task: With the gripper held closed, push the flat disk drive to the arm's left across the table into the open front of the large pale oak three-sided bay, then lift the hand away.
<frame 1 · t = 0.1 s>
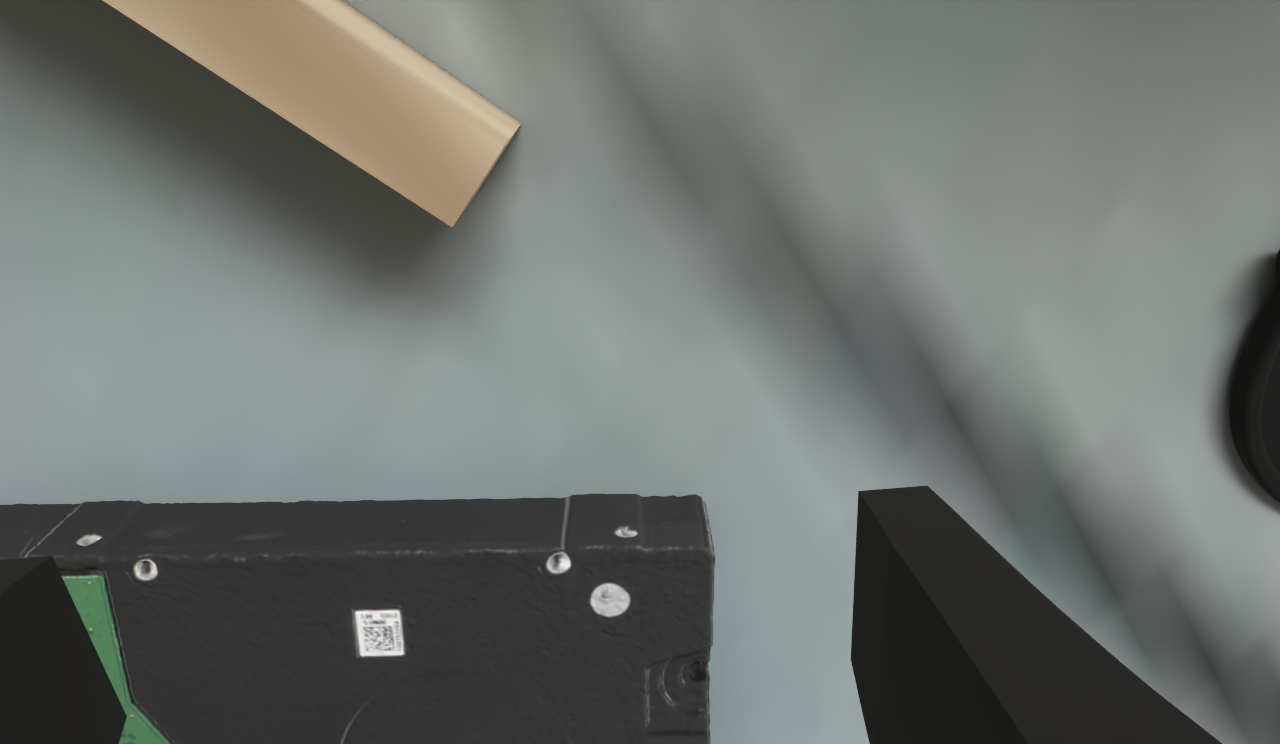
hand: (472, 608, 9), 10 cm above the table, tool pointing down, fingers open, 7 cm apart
disk drive: (377, 683, 23), on the table
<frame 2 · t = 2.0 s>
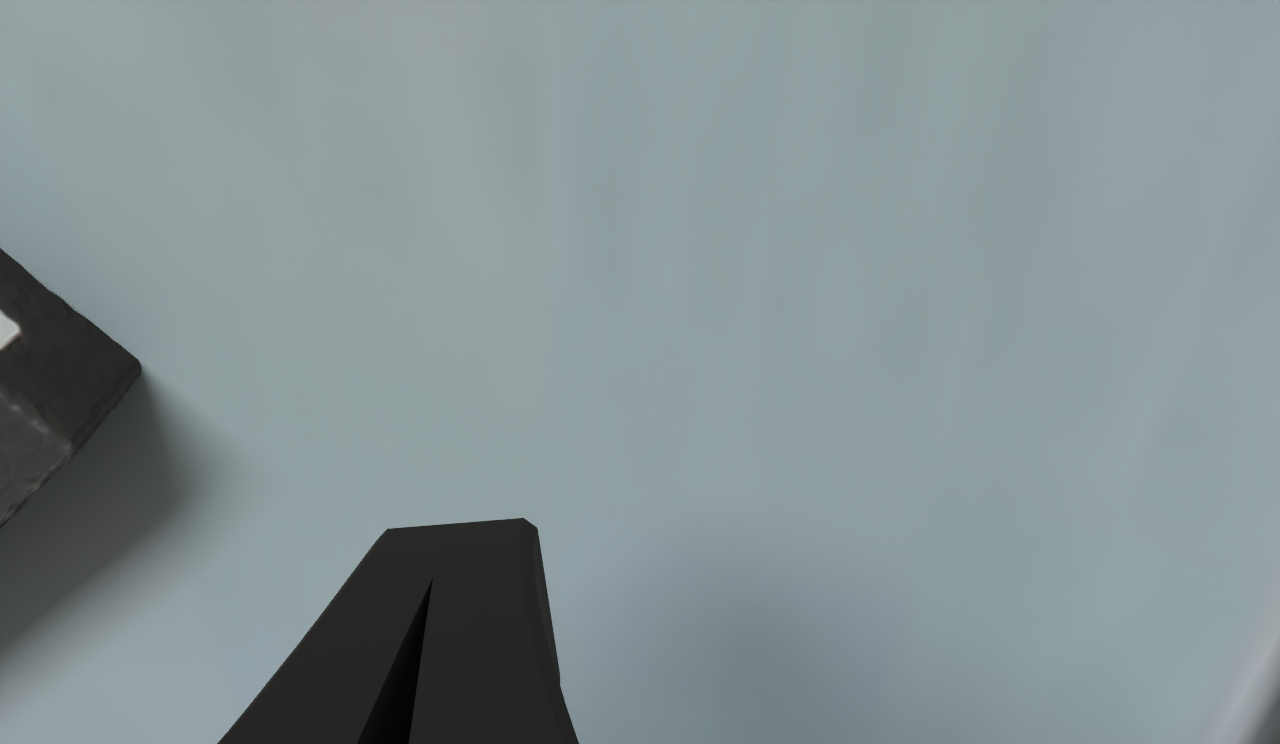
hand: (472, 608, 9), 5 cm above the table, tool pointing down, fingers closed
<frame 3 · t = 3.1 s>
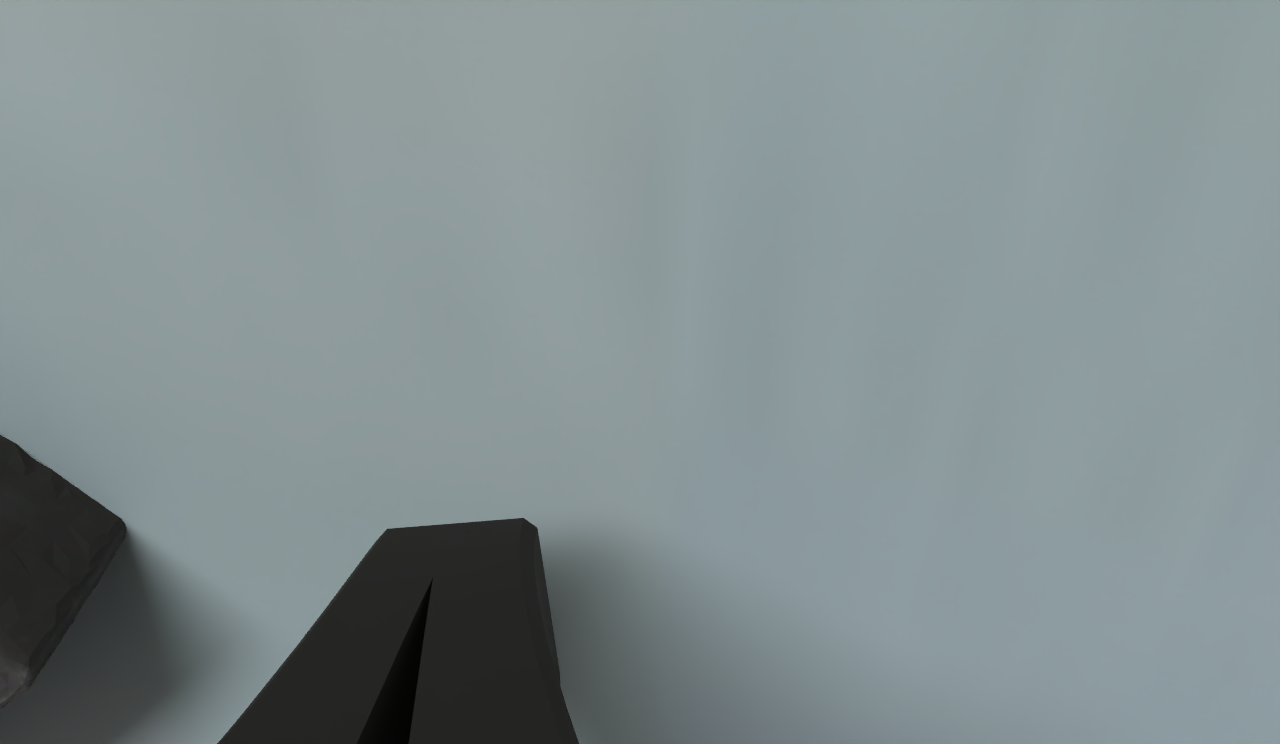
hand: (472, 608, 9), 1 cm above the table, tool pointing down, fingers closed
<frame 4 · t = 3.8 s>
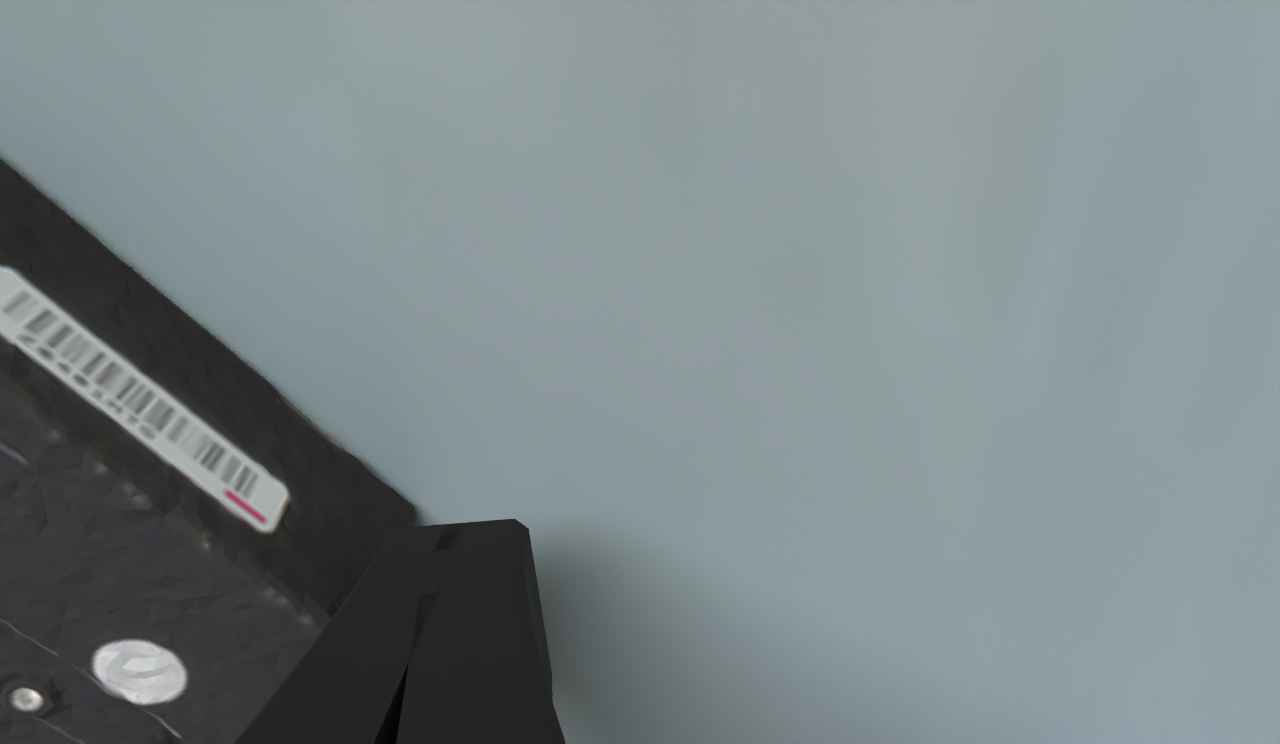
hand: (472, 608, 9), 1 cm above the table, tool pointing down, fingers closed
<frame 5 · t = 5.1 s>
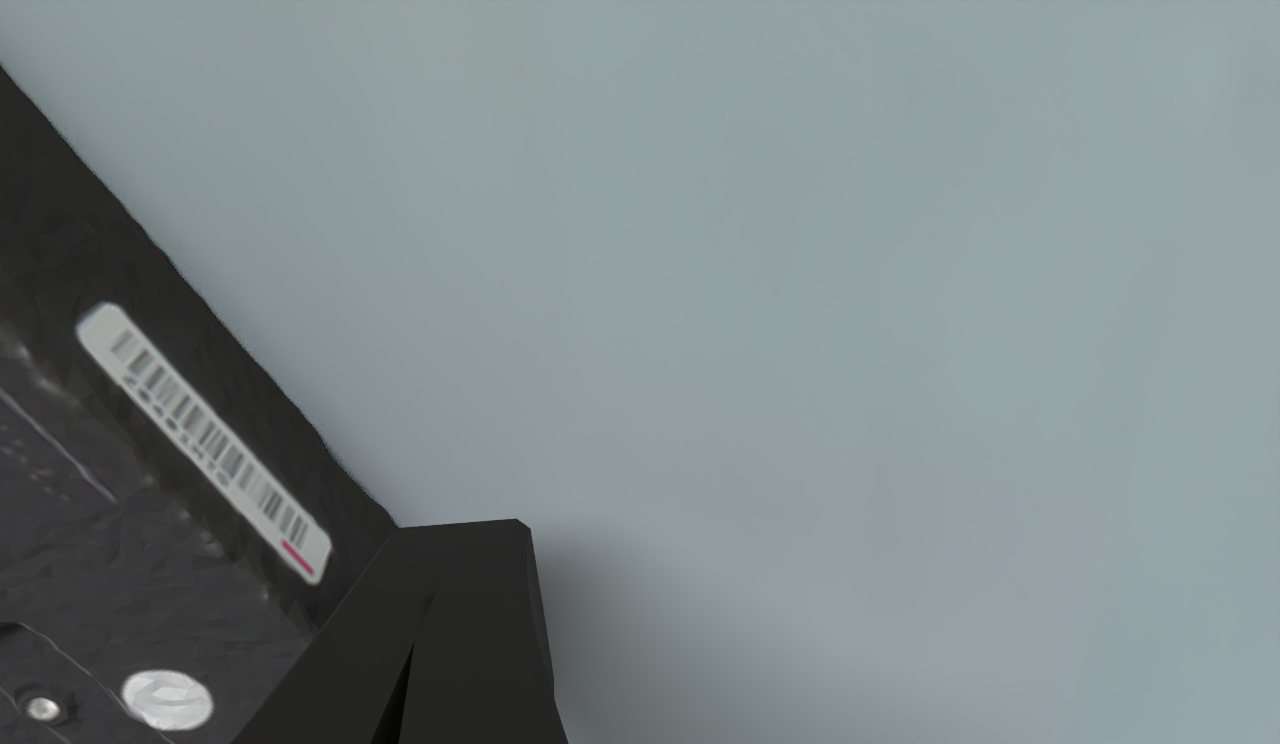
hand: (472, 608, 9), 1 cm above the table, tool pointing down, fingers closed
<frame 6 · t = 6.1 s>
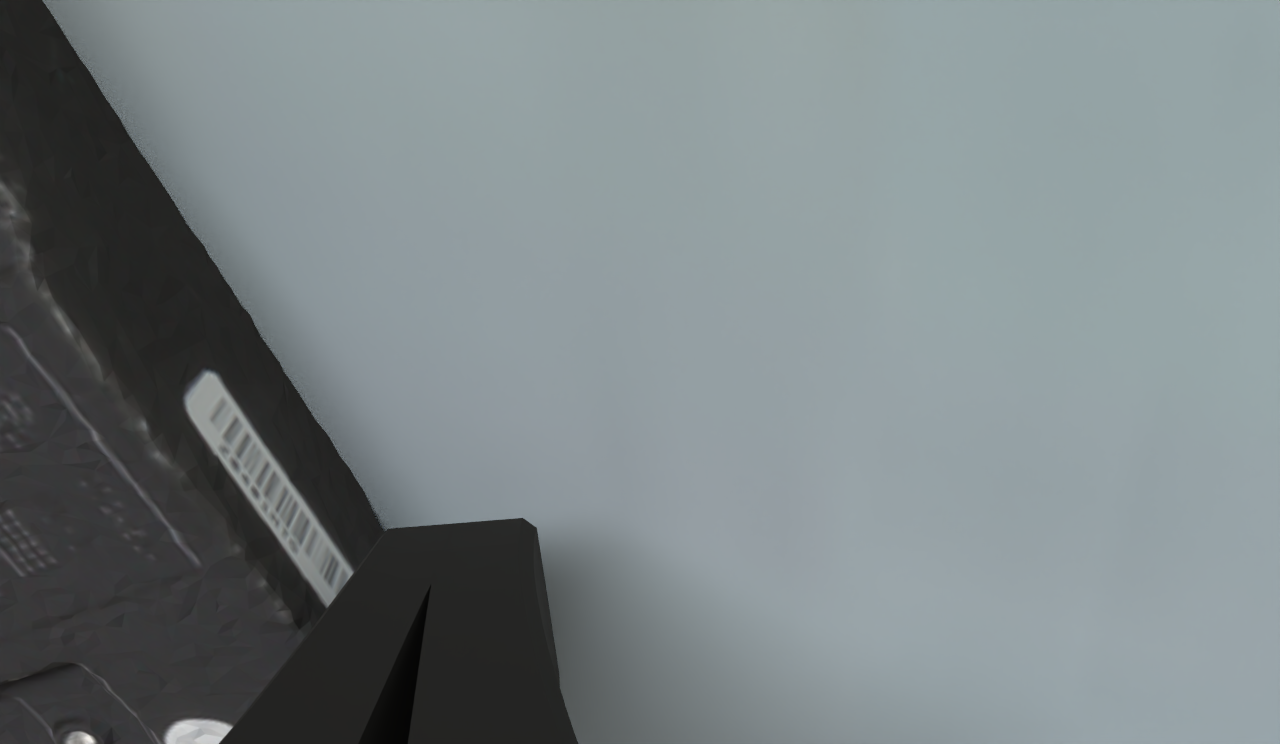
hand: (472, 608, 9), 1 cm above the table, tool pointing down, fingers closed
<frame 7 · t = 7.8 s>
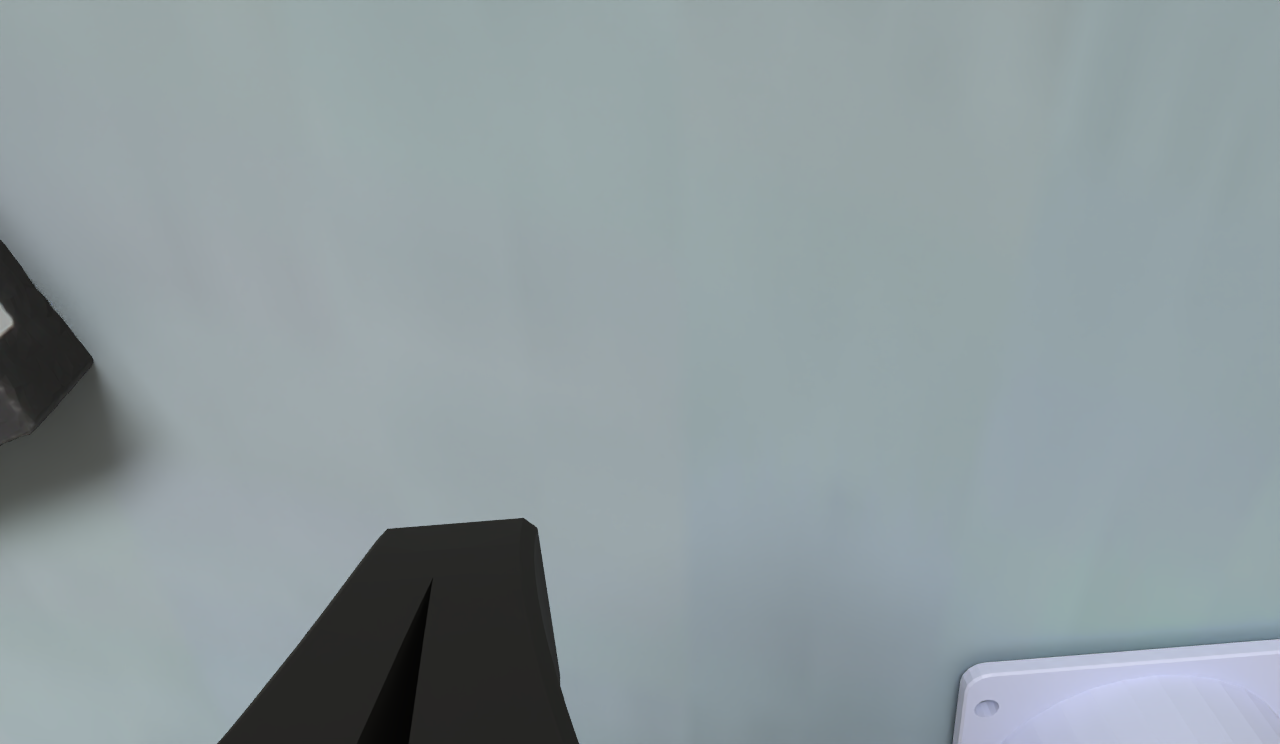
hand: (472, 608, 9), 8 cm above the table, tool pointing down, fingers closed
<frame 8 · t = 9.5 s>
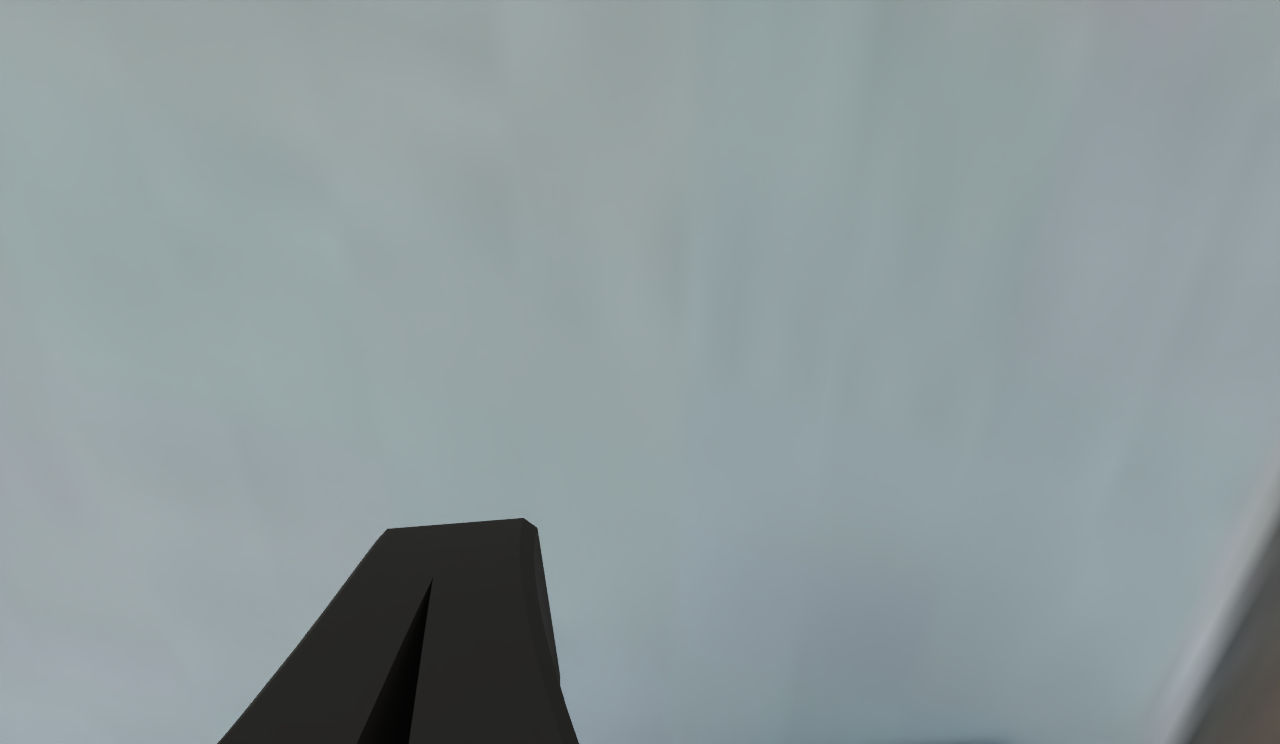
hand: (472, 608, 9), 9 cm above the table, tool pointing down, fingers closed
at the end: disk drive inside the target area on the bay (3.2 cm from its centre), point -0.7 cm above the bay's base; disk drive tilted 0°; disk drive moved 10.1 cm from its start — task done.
